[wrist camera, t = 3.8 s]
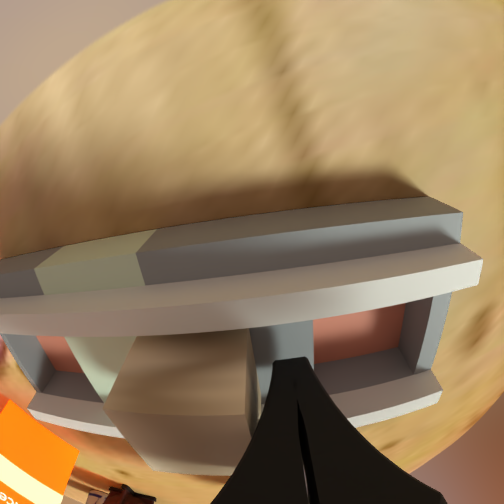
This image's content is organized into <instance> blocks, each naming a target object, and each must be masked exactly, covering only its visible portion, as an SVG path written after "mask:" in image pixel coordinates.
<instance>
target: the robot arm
mask: <svg viewBox="0 0 504 504" xmlns="http://www.w3.org/2000/svg"><path fill="white" fill-rule="evenodd" d="M211 504H447V502H446V500H445V499H444V497H443V495H442V494H441V493H440V492H438V491H437V490H435V489H433V488H431V487H429V486H427V485H425V484H424V483H422V482H420V481H419V480H417V479H415V478H414V477H412V476H411V475H409V474H408V473H407V472H405V471H404V470H402V469H401V468H399V467H398V466H397V465H395V464H394V463H393V462H392V461H390V460H389V459H388V458H387V457H385V456H384V455H383V454H382V453H380V452H379V451H378V450H377V449H376V448H375V447H374V446H373V445H372V444H370V443H369V442H368V441H367V440H366V439H365V438H364V437H363V436H362V435H361V434H360V433H359V432H358V431H357V430H356V428H355V427H354V426H353V425H352V424H351V423H350V422H349V421H348V419H347V418H346V417H345V416H344V414H343V413H342V412H341V411H340V410H339V408H338V407H337V406H336V404H335V403H334V402H333V400H332V399H331V397H330V396H329V394H328V393H327V392H326V390H325V389H324V387H323V386H322V384H321V382H320V381H319V379H318V377H317V376H316V374H315V372H314V370H313V368H312V366H311V364H310V362H309V360H308V358H307V357H305V356H304V357H297V358H290V359H282V360H275V361H274V362H273V363H272V376H271V382H270V386H269V391H268V394H267V398H266V401H265V405H264V408H263V411H262V414H261V416H260V419H259V422H258V424H257V427H256V429H255V432H254V434H253V436H252V438H251V441H250V443H249V445H248V447H247V449H246V451H245V453H244V454H243V456H242V458H241V460H240V462H239V463H238V465H237V467H236V468H235V470H234V472H233V473H232V475H231V476H230V478H229V479H228V481H227V482H226V484H225V485H224V487H223V488H222V489H221V491H220V492H219V493H218V495H217V496H216V497H215V498H214V500H213V501H212V502H211Z"/></svg>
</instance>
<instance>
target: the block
mask: <svg viewBox="0 0 504 504" xmlns="http://www.w3.org/2000/svg"><path fill="white" fill-rule="evenodd" d="M102 409H103V410H104V412H105V413H106V415H107V416H108V417H109V419H110V420H111V421H112V423H113V424H114V425H115V426H116V428H117V429H118V430H119V432H120V433H121V434H122V435H123V437H124V438H125V439H126V440H127V441H128V443H129V444H130V445H131V446H132V447H133V449H134V450H135V451H136V452H137V453H138V454H139V455H140V457H141V458H142V459H143V460H144V461H145V462H146V463H147V464H148V465H149V466H150V468H151V469H152V470H153V471H160V472H169V473H180V474H193V475H217V476H231V475H232V473H233V472H234V470H235V468H236V467H237V465H238V463H239V462H240V460H241V458H242V456H243V454H244V453H245V451H246V449H247V447H248V445H249V443H250V441H251V438H252V436H253V434H254V432H255V429H256V427H257V424H258V422H259V419H260V416H261V391H260V386H259V380H258V375H257V369H256V364H255V359H254V353H253V348H252V342H251V336H250V331H249V328H245V329H235V330H224V331H213V332H201V333H187V334H171V335H152V336H137V337H136V339H135V341H134V343H133V345H132V347H131V349H130V351H129V353H128V355H127V357H126V359H125V361H124V363H123V365H122V367H121V369H120V371H119V374H118V376H117V378H116V380H115V382H114V384H113V386H112V389H111V391H110V393H109V395H108V397H107V399H106V402H105V404H104V406H103V408H102Z"/></svg>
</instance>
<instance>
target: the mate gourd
mask: <svg viewBox="0 0 504 504" xmlns="http://www.w3.org/2000/svg"><path fill="white" fill-rule="evenodd" d="M121 487H122V488H123V490H121V489H118V488H114V487H110V488H109V490H110V491H111V492H110V493H109V495H108V496H107V498H106V499H105V501H104V502H103V504H154V501H155V502H156V498H155V497H152V496H147V495H142V494H138V493H135V492H133V490H132V489H131V488H130V487H129V486H127V485H124V484H122V486H121Z"/></svg>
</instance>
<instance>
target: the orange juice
mask: <svg viewBox="0 0 504 504" xmlns="http://www.w3.org/2000/svg"><path fill="white" fill-rule="evenodd" d="M78 454H79V450H77V449H76V448H74V447H72V446H71V445H69V444H68V443H66V442H65V441H63V440H62V439H60V438H59V437H57V436H56V435H54V434H53V433H52V432H50V431H49V430H47V429H46V428H45V427H43V426H42V425H41V424H39V423H38V422H37V421H35V420H34V419H33V418H32V417H30V416H29V415H28V414H27V413H25V412H24V411H23V410H22V409H20V408H19V407H18V406H17V405H16V404H15V403H13V402H12V401H11V400H10V399H9V401H8V402H7V404H6V406H5V407H4V409H3V410H2V412H1V414H0V504H61V501H62V498H63V494H64V491H65V488H66V485H67V483H68V480H69V477H70V474H71V472H72V469H73V467H74V464H75V461H76V459H77V456H78Z"/></svg>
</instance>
